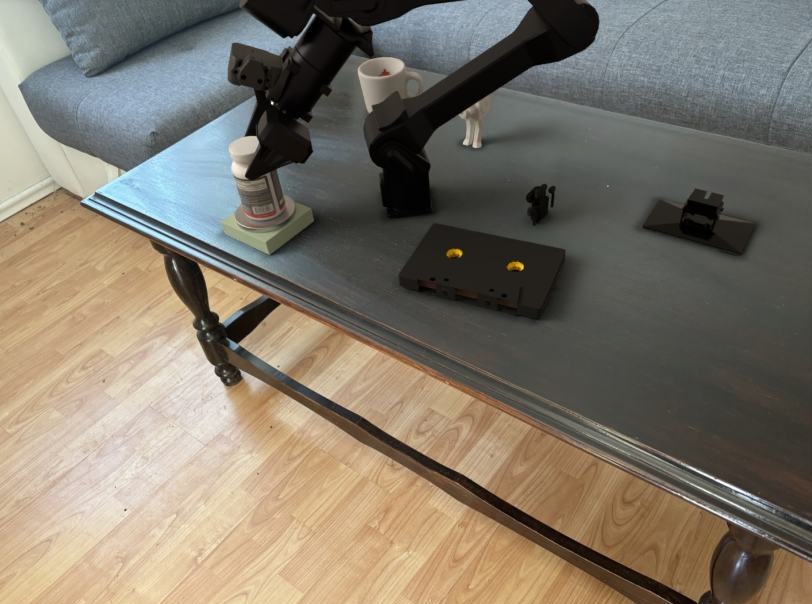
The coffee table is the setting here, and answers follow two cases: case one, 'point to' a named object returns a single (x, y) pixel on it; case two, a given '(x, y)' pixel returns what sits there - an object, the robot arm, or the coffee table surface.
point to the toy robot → (475, 121)
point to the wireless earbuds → (539, 202)
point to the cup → (386, 80)
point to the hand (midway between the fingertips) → (247, 159)
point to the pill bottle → (255, 183)
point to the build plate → (700, 223)
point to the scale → (268, 226)
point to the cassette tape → (484, 270)
